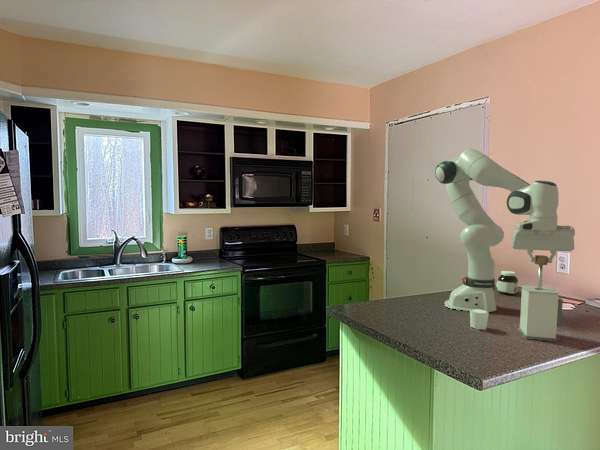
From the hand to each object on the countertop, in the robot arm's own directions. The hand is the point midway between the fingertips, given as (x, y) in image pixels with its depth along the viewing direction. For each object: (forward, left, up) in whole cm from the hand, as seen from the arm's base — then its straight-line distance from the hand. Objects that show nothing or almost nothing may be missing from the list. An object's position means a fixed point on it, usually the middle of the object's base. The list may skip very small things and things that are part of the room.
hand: (541, 262), depth 153 cm
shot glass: (-20, +3, -28) cm, 35 cm away
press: (+1, 0, -28) cm, 28 cm away
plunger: (0, 0, -18) cm, 18 cm away
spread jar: (+3, +69, -28) cm, 75 cm away
